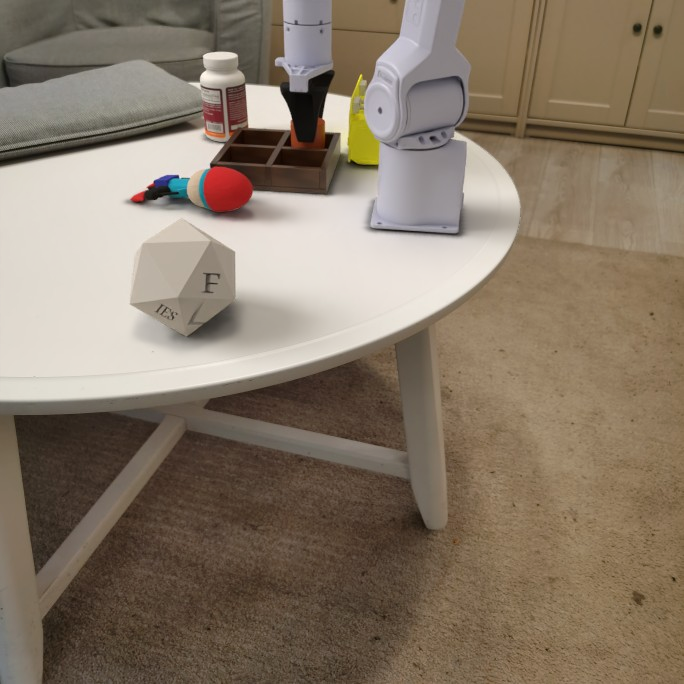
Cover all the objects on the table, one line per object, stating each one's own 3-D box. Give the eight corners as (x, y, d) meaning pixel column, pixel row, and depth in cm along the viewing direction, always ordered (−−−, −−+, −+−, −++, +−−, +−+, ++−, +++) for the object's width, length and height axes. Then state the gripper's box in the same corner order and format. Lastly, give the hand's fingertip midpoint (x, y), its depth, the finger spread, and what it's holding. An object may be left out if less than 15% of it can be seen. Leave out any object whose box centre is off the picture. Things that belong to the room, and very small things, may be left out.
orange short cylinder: (327, 141, 94) (327, 117, 92) (322, 152, 90) (322, 127, 88) (294, 139, 94) (293, 115, 92) (288, 150, 91) (287, 125, 89)
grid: (340, 154, 96) (340, 132, 94) (326, 194, 85) (326, 170, 83) (239, 148, 97) (237, 127, 96) (211, 187, 86) (209, 163, 84)
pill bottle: (246, 128, 105) (241, 49, 99) (251, 141, 100) (246, 59, 94) (203, 130, 104) (196, 50, 97) (206, 144, 99) (198, 61, 92)
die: (125, 354, 58) (176, 285, 51) (102, 264, 61) (147, 189, 55) (216, 352, 64) (271, 290, 57) (190, 270, 67) (240, 203, 61)
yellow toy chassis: (356, 129, 105) (358, 71, 100) (395, 131, 105) (398, 72, 100) (344, 168, 92) (345, 102, 87) (388, 170, 91) (391, 104, 87)
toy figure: (129, 217, 82) (235, 221, 75) (119, 174, 80) (227, 175, 73) (171, 199, 88) (273, 202, 81) (162, 159, 86) (266, 158, 79)
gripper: (285, 9, 90) (288, 117, 98) (261, 31, 78) (266, 152, 86) (340, 11, 89) (339, 119, 97) (324, 34, 77) (324, 155, 85)
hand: (309, 135), depth 91 cm, fingers closed on orange short cylinder, 4 cm apart
